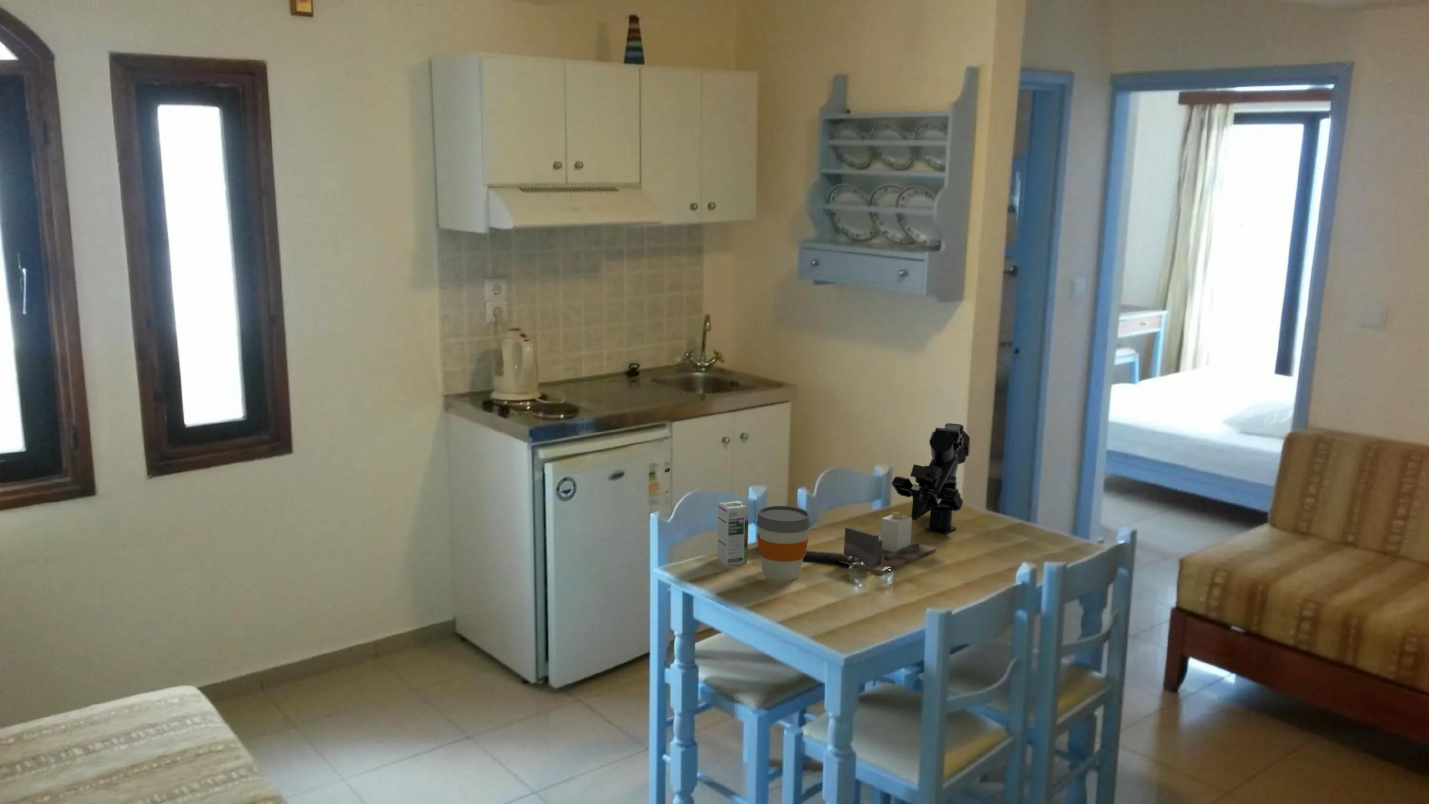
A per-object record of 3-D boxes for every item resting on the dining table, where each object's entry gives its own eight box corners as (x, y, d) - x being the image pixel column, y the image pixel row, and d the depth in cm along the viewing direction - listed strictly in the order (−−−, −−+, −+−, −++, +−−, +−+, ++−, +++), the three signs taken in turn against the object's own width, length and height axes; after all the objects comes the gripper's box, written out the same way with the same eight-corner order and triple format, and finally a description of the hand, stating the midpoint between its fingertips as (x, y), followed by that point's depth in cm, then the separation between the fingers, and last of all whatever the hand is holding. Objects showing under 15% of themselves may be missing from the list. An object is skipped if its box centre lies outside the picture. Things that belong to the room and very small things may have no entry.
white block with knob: (893, 543, 279) (895, 508, 277) (910, 547, 276) (912, 513, 274) (880, 548, 275) (882, 513, 273) (896, 553, 271) (899, 518, 269)
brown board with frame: (889, 538, 286) (891, 505, 284) (935, 551, 276) (938, 518, 275) (834, 560, 268) (836, 525, 267) (881, 575, 259) (884, 538, 257)
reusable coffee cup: (747, 578, 254) (749, 517, 251) (764, 561, 266) (766, 502, 263) (799, 586, 250) (802, 524, 247) (813, 569, 262) (816, 509, 259)
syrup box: (726, 566, 262) (727, 508, 259) (716, 558, 267) (717, 501, 264) (747, 563, 264) (749, 506, 261) (737, 555, 270) (739, 499, 267)
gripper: (897, 446, 286) (871, 494, 280) (960, 459, 274) (934, 510, 268) (912, 469, 293) (886, 517, 287) (973, 484, 281) (948, 534, 275)
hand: (912, 519), depth 279 cm, fingers closed
